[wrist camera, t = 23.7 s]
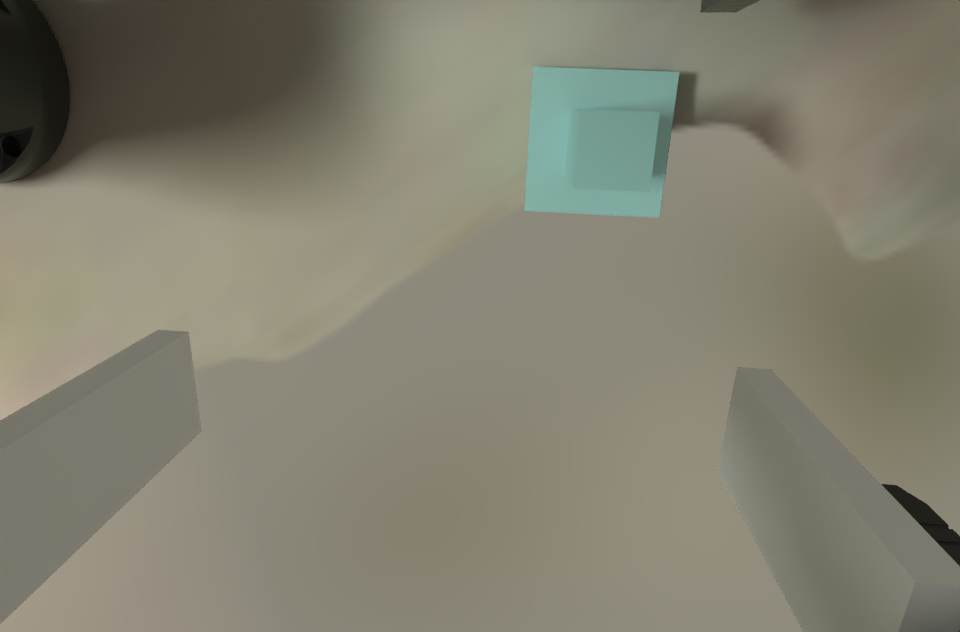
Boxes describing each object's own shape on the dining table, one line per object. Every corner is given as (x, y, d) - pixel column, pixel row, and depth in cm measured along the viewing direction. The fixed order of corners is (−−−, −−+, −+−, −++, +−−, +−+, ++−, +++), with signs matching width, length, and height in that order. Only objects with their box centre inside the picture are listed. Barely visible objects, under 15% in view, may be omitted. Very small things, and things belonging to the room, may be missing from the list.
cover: (524, 207, 41) (523, 232, 32) (533, 68, 38) (534, 53, 29) (654, 214, 41) (690, 241, 32) (673, 73, 38) (719, 60, 29)
